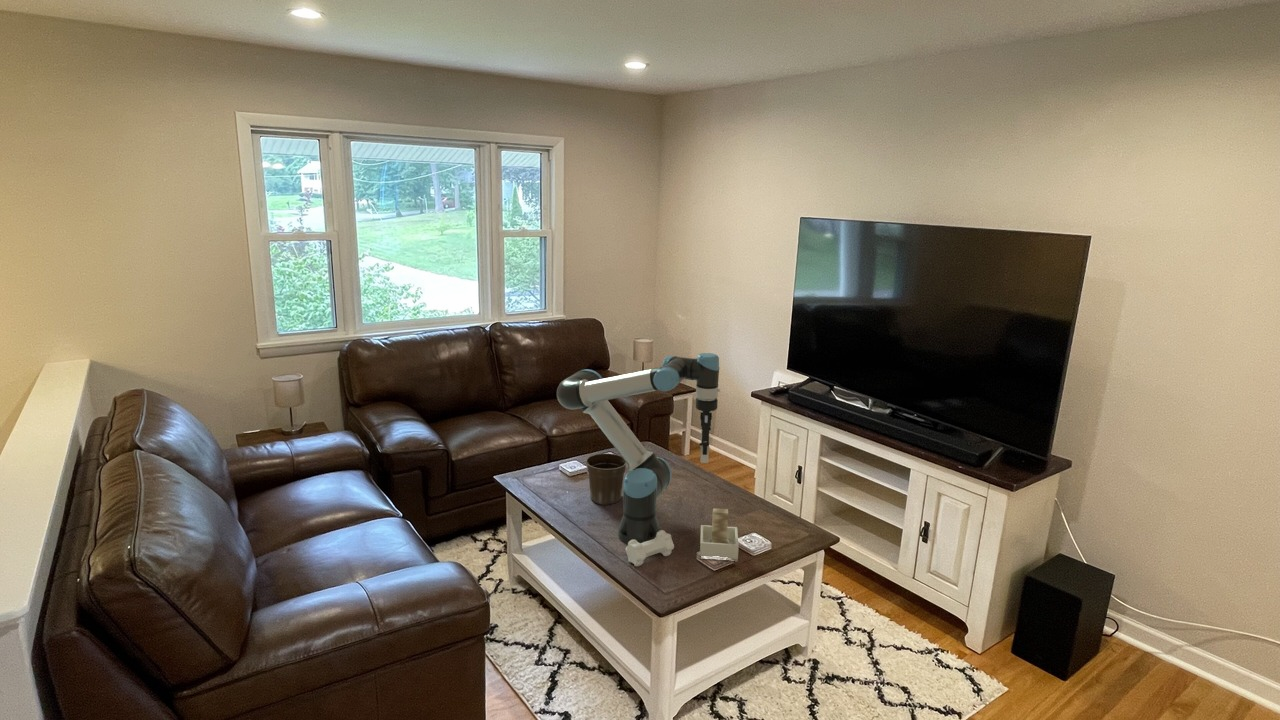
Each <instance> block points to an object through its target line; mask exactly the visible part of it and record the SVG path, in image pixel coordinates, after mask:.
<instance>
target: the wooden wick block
mask: <svg viewBox="0 0 1280 720" xmlns="http://www.w3.org/2000/svg"><path fill="white" fill-rule="evenodd" d="M728 520H729V509H728V508H716V507H715V508H712V523H711V526H712V541H711V543H726V544H727V527H729V524H728V523H729V521H728Z"/></svg>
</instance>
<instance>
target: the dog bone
mask: <svg viewBox="0 0 1280 720" xmlns="http://www.w3.org/2000/svg"><path fill="white" fill-rule="evenodd" d="M674 548H675V544H674V542H673V539H672V535H671V533H667V532H666V531H665V530H664V529H660V531H658V532H657V534H656V537H655V538H654V539H652V540H649V541H646V542H643V543H639V542H637V540H635V539H634V540H631V541H629V542H628V544H627V546H626V547H625V549H624V550H625V552H626V554H627V555H626V556H627V558H628V562H629V563H632V564H634V565H633V566H635V567H640V566H642V565H643V564H644V561H645V559H646V558H648V557H650V556H654V555H656V554H662V555H663V556H664V557H669V556H670V555H671V554H672V552H673V551H672V550H674Z"/></svg>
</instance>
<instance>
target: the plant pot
mask: <svg viewBox="0 0 1280 720" xmlns="http://www.w3.org/2000/svg"><path fill="white" fill-rule="evenodd" d="M585 465H586V469H587V473H588V480H589V482H588V483H589V493H590V495H589V496H590V501H591V500H592V502H593V503H596V504H598V505H606V506H608V505H612V504H616V503H619V502H620V501H621V498H622V490H623V482H624V477H625V472H626V466H627V465H628V464H627V463H626V461H625V460H624V459H623V457H622V456H621V455H620V454H616V453H611V452H608V453H607V452H606V453H603V452H602V453H596V454H593V455H590V456H588V457H587V458H586V459H585Z"/></svg>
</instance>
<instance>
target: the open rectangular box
mask: <svg viewBox="0 0 1280 720" xmlns="http://www.w3.org/2000/svg"><path fill="white" fill-rule="evenodd" d="M738 534H739V532H738V527H737V526H727V544H726V543H711V541H712V525H708V524H701V525H700V536H699V538H700V539H699V541H700V542H699V557H700V556H720V557H728V558H731V559H732V560H734V561H735V562H736V563H738V561H739V547H740V545H739V535H738ZM735 562H734V563H735Z"/></svg>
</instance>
